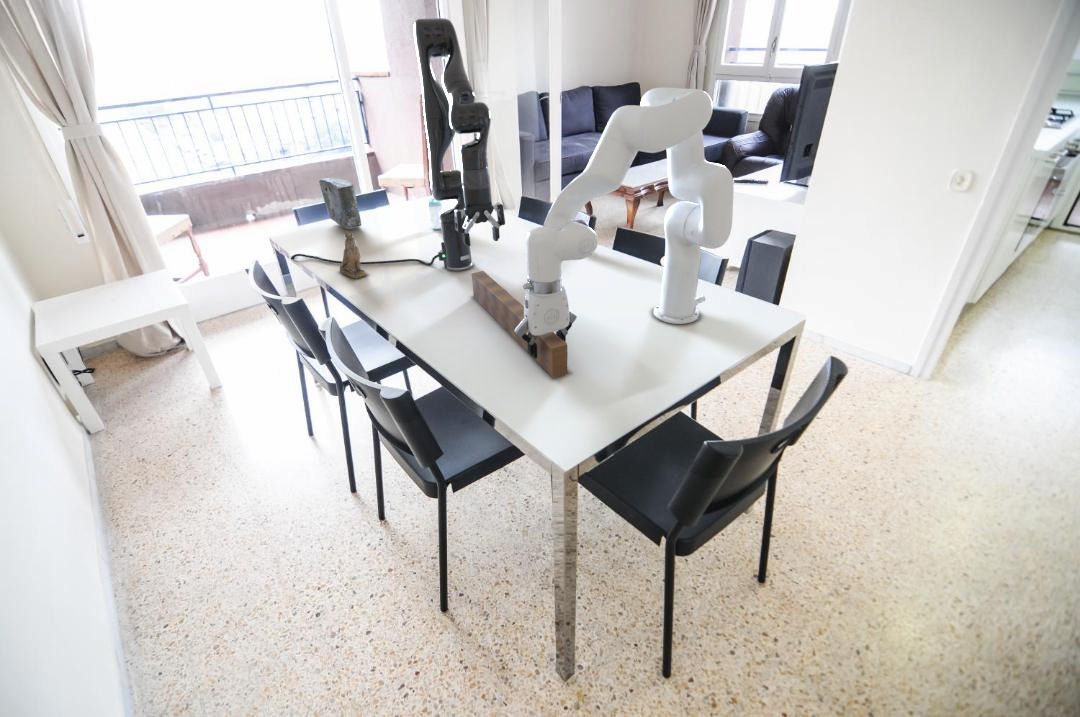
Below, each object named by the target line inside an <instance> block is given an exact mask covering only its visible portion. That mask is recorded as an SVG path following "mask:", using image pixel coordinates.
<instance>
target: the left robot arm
mask: <svg viewBox="0 0 1080 717" xmlns="http://www.w3.org/2000/svg"><path fill="white" fill-rule="evenodd" d="M455 28H456V27H455V26H454V24H453V22H452V21H451V20H450V19H448V18H443V17H438V18H435V17H434V18H417V19H416V20H415V21H414V24H413V37H414V44H415V51H416V57H417V62H418V69H419V76H420V83H421V93H422V94H421V95H422V102H423V103H422V106H423V116H424V125H425V133H426V139H427V140H426V141H427V148H428V160H429V182H430V189H431V195H432V197H433V199H435V200H436V201H442V202H445V201H453V202H452V203H451V204H450V205H448V206H447V207H444V210H442V211H441V212H440V223H441V229H440V230H441V235H442V242H441V243H440V246H441V249H440V250H439V251H438V252H437V254H435V255H434V256H433V257H432V258H431V260H430V262H426V261H424V260H422V259H418V258H405V259H403V258H402V259H395V260H394V259H393V260H380V261H378V260H377V261H360V265H378V264H379V265H382V264H392V263H393V264H395V263H406V262H418V263H420V264H422V265H425V266H432V265H433V264H434V262H435V260H436V259H438V261H439V262H443V267H444V269H445V270H449V271H454V272H459V271H467V270H469V269H471V268H472V266H473V260H472V250H471V237H470V233H469V232H470V231H471V228H473V226H474V225H475V224H477V225H478V224H480V223H487V222H489V223H490V224H491V226H492V227H491V230H492V240H493V241H494V242H498V241H499V239H500V227H501V226H505V225H506V218H505V211H504V205H503V204H502V203H500V202H496V203H494V204H493V200H492V187H491V176H490V172H489V171H490V170H489V163H488V141H489V134H490V129H491V123H492V122H491V121H492V114H491V110H490V108H489V106H488V105H487V104H486V103H485V102H483V101H475V99H476V95H475V92H474V89H473V87H472V84H471V82H470V79H469V77H468V75H467V72H466V68H465V63H464V60H463V55H462V51H461V46H460V43H459V39H458V35H457V31H456V29H455ZM442 58H443V59H445V58H448V60H447V61H446V64H445V66H444V68H443V70H442V75H441V84H442V85H441V84H440V82H439V80H438V79H437V77H436V74H435V72H434V70H433V67H432V63H431V59H442ZM456 134H458V135H469V134H475V137H474V139H473V140H471V141H469V142H466V143H464V144H462V145H461V146H460V147H459V156H460V158H459V159H460V165H461V167H460V168H461V170H459V169H451V170H442V165H443V161H444V158H445V155H446V153H447V151H448V149H449V147H450V145H451V144H452V142H453V140H454V137H455V135H456ZM493 211H495V212H496V218H497V220H496V219H495V218H494V217H493V216H492V214H493ZM297 257H303V258H310V259H315V260H319V261H322V262H327V263H333V264H340V265H341V264H342V260H333V259H328V258H323V257H320V256H317V255H309V254H304V253H295V254H293V255H292V256H291V257H290V260H294V259H295V258H297Z"/></svg>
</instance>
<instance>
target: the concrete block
mask: <svg viewBox="0 0 1080 717" xmlns="http://www.w3.org/2000/svg"><path fill="white" fill-rule="evenodd" d="M318 183H319V186H320V191H321V195H322V198H323V201H324V205H325V209H326V212H327V215H328V217H329V218H330V219H331V220H332V221H333V222H334V223H336V224H337V225H339V226H340V227H341V228H343V229H345V230H352V229H355V228H358V227H361V226H362V219H361V214H360V210H359V205H358V200H357V195H356V190H355V187H354V184H353V183H351V182H350V181H348V180H346V179H343V178H340V177H336V176H334V177H333V176H332V177H324V178H321V179H319V181H318Z"/></svg>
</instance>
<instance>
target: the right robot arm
mask: <svg viewBox="0 0 1080 717" xmlns="http://www.w3.org/2000/svg"><path fill="white" fill-rule="evenodd" d="M713 105H714V104H713V101H712V98H711V96H710V95H709V93H707V92H706V91H704V90H702V89H699V88H684V87H683V88H681V87H680V88H679V87H655V88H650V89H649V90H647V91H646V92H645V93H644V94H643V95H642V97H641V100H640V104H639V105H634V104H633V105H632V104H631V105H628V104H627V105H622V106H620V107H618V108H616V109H615V111H613V113H612V114H611V116H610V118H609V119H608V121H607V124H606V125H605V128H604V129H603V131H602V134H601V136H600V138H599V140H598V143H597V145H596V147H595V148H594V151H593V152H592V155H591V156H590V158H589V161H588V162H587V165H586V167H585V168H584V170H583V171H582V172H581V173H580V174H578V175H577V176H576V177H574V179H572V180H571V181H570V182H569V183H568V184H567V185H566V186H565V187H564V188H563V189H562V190H561V191H560V192H559V193H558V195H556V198H555V199H554V201H552V205H551V206H550V209H549V210H548V213H547V215H546V217H545V220H544V222H543V226H540V227H535V228H532V229H530V230H529V231H528V232H527V233H526V236H525V237H526V238H525V242H526V243H525V244H526V265H527V279H526V282H525V283H522V288H523V290H525V295H524V296H525V297H524V304H523V306H524V320H523V321H522V322H521V323H520V324H519V325H518V327H517V328H516V329H515V330H514V331H515V333H516V334H517V335H519V336H520V337H521V338H522V339H524V340H525V341H527V345H528V352H527V353H528V355H529V356H531V357H532V358H533V360H535V358H537V344H536V343H535V340H536V338H537V336H538V335H543V334H546V333H550V332H554V333H555V334H556V335H557V336H559V337H560V338H561V339H562V340H563V341H564V342H565V343H567V342H566V340H567V338H566V336H567V335H568V334H569V333H568V332H569V330H570V329H571V328H572V327H573V324H574V323H575V321H576V320H577V318H578V317H577V315H576V314H574V313H573V312H572V311H570V308H569V300H568V294H567V290H566V287H565V286H563V284H562V282H563V280H562V277H563V276H562V272H563V270H562V263H563V262H566V261H579V260H584V259H587V258H588V257H591V256H592V255H593V254H594V253H595V251H596V250H597V248H598V243H599V239H598V235H597V233H596V232H595V231H594V229H592V227H590V226H589V227H588V226H586V225H583V224H580V223H578V222H576V221H574V220H576V217H577V216H578V214H579V212H580V211H581V210H582V209H583V207H585V206H586V205H587V204H588V203H589V202H590V201H592V200H594V199H597V198H599V197H602V196H605V195H608V194H611V193H612V192H615V191H617V190H618V189H620V188H621V186H622V185H623V181H624V180H625V178H626V175H627V173H628V172H629V170H630V167H631V166H632V164H633V162H634V160H635V158H636V156H637V154H638V152H643V153H650V154H655V153H659V152H663V151H665V150H666V163H667V165H666V166H667V184H668V190H669V193H670V195H672V197H673V198H675V199H678V200H680V201H677V202H675V203H673V204H671V206H670V207H669V208H668V209H667V211H666V212H665V215H664V220H663V229H664V240H665V245H664V246H665V248H664V260H663V269H662V278H661V288H660V289H661V290H660V298H659V303H658V304H656V305H655V306H654V308H653V315H654V317H655V318H656V319H658V320H660V321H662V322H664V323H668V324H672V325H673V324H675V325H685V324H690V323H693V322H695V321H697V320H698V319H699V316H700V311H699V310H698V309H697V306H698V305H699V304H701V303H704V302H705V301H706V297H705V295H699V296H697V291H698V284H699V277H700V271H701V270H700V269H701V262H702V249H701V247H702V248H706V249H710V250H711V249H712V250H714V249H718V248H721V247H722V246H724V245H725V244H726V242H727V241H728V240H729V237H730V235H731V233H732V227H733V215H734V214H733V213H734V192H735V191H734V186H735V184H734V178H733V175H732V173H731V171H730V170H729V168H727V166H725V165H722V164H720V163H715V162H710V161H707V160H706V156H705V141H704V134H703V130H704V129H705V128H706V127H707V126H708V124H709V122H710V120H711V118H712V115H713V108H714V107H713ZM525 328H526V329H528V332H527V334H525V333H524V332H523V331H524V329H525Z"/></svg>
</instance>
